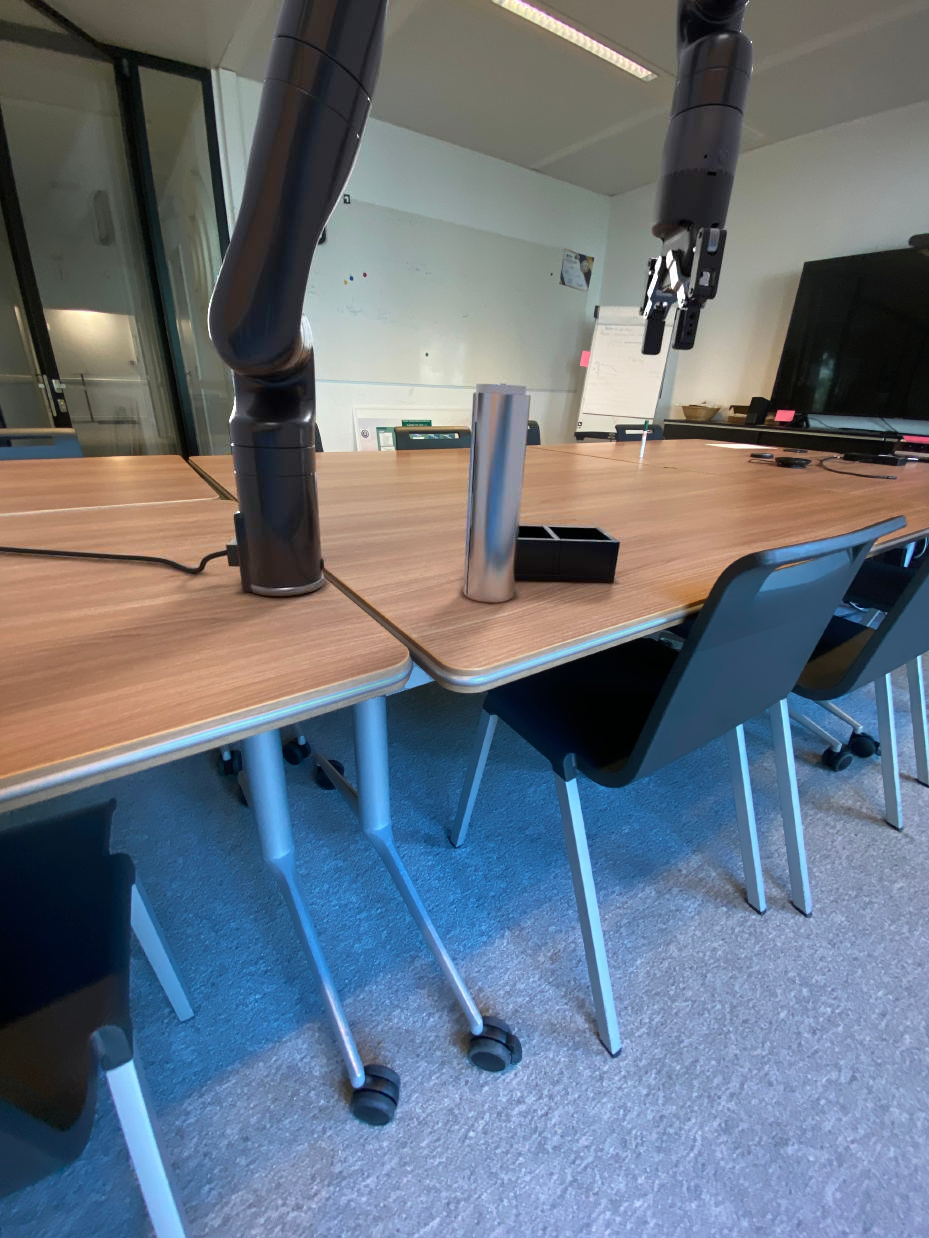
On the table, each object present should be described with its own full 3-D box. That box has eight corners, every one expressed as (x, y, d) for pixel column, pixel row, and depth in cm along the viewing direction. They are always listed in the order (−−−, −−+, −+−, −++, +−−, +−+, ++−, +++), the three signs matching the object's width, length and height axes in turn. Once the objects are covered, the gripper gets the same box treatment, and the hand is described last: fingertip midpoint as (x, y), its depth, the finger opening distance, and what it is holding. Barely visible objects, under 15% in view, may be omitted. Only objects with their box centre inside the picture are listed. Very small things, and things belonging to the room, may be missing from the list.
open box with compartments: (492, 580, 74) (495, 538, 72) (485, 561, 82) (487, 523, 80) (613, 583, 76) (620, 542, 73) (594, 564, 84) (599, 527, 82)
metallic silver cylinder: (509, 605, 65) (529, 384, 56) (458, 599, 66) (468, 381, 57) (515, 588, 71) (534, 385, 62) (468, 583, 72) (479, 383, 63)
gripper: (634, 198, 61) (612, 355, 68) (693, 145, 48) (659, 345, 54) (696, 204, 62) (669, 358, 68) (771, 153, 49) (729, 349, 55)
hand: (665, 352), depth 61 cm, fingers open, 8 cm apart
